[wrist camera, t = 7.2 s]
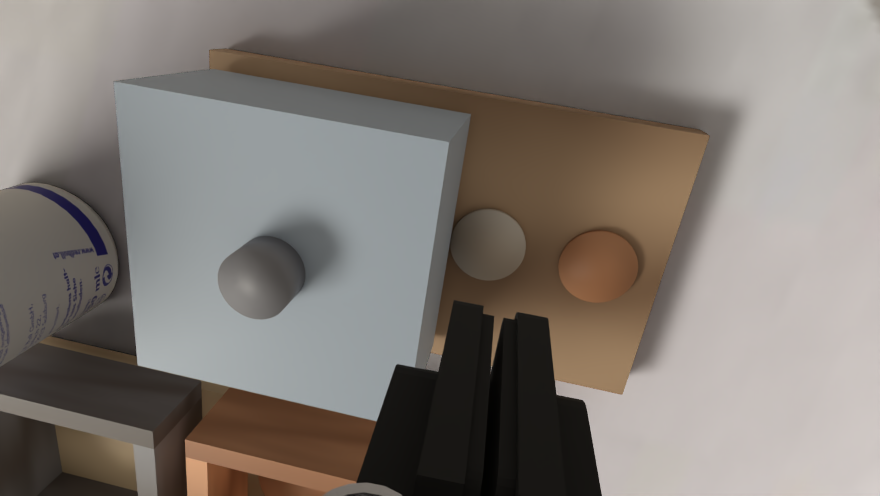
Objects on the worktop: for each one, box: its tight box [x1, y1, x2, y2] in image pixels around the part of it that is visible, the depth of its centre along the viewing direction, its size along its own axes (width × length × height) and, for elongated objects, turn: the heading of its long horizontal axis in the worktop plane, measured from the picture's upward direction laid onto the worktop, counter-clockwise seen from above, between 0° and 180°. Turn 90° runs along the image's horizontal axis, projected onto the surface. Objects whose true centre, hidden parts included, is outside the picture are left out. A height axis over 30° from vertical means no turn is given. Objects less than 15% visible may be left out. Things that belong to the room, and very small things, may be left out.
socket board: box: [0, 336, 377, 496], centre depth 22 cm, size 8×17×4 cm, turn 82°
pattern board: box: [209, 49, 710, 395], centre depth 18 cm, size 9×15×1 cm, turn 82°
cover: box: [114, 69, 471, 421], centre depth 15 cm, size 8×8×5 cm
